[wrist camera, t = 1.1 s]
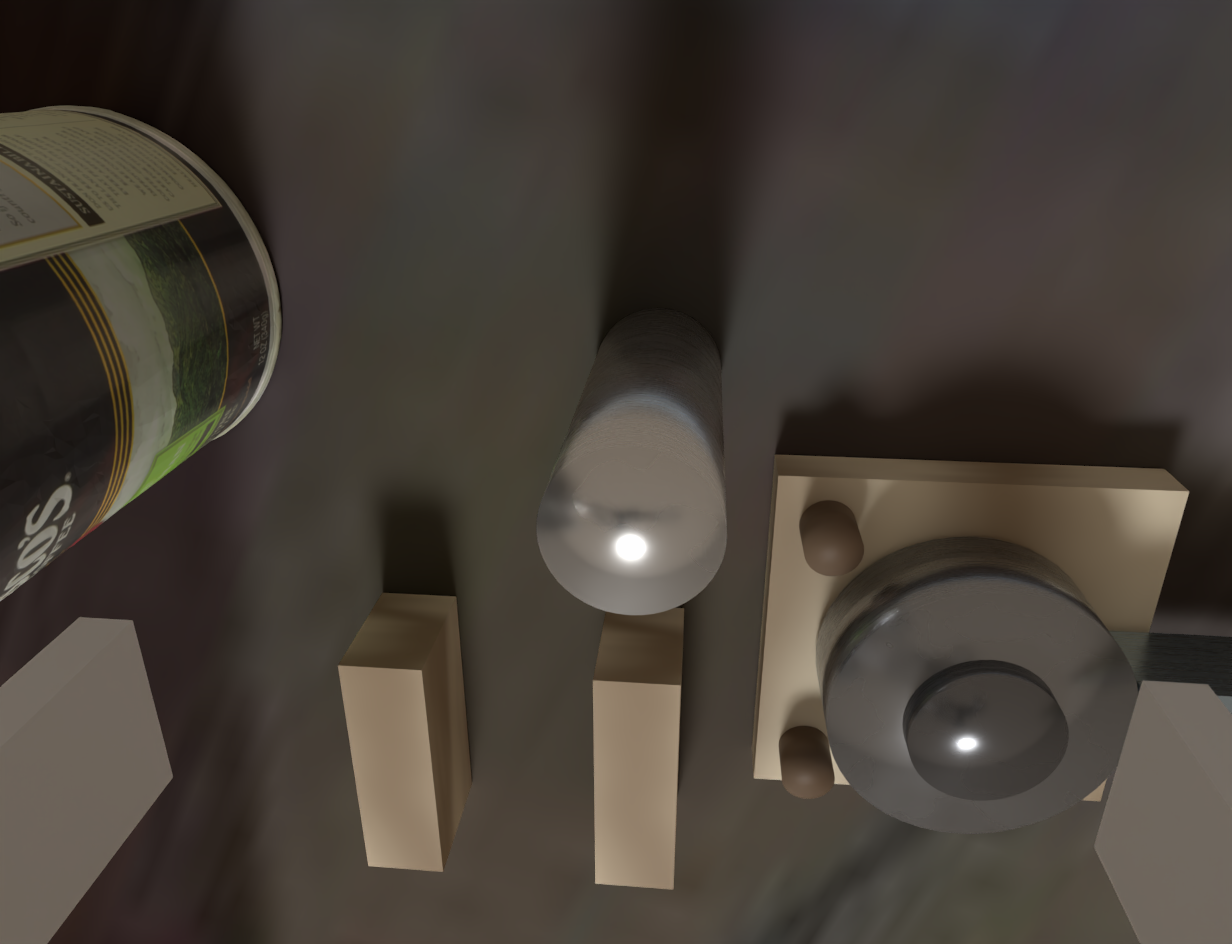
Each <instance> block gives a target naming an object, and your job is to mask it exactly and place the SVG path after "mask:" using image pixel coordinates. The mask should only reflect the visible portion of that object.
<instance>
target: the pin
mask: <svg viewBox="0 0 1232 944" xmlns="http://www.w3.org/2000/svg"><path fill="white" fill-rule="evenodd" d="M536 531H537V539H538V544H539V548H540V552H541V554H542V557H543V559H544V562H545V563H546V565H547V567H548V569H549V570H550V572H551V573H552V575H553V576H554V577H555V578H556V580H557V581H558V582H559V583H560V584H561V585H562V586H563V587H564V588H565V589H566V590H567V591H569V592H570V593H571V594H572V595H574V596H575V597H577V598H578V599H580V600H581V601H583V602H585V603H587V604H589V605H591V606H593V607H595V608H598V609H601V610H604V611H607V612H612V613H616V614H623V615H648V614H655V613H660V612H664V611H667V610H670V609H673V608H676V607H678V606H680V605H682V604H684V603H686V602H687V601H689V600H690V599H692V598H693V597H695V596H696V595H697V594H699V593H700V592H701V591H702V590H703V589H704V588H705V587H706V586H707V585H708V584H709V582H710V581H711V580H712V579H713V577H714V576H715V574H716V572H717V571H718V569H719V567H720V565H721V562H722V560H723V557H724V553H725V550H726V542H727V521H726V492H725V464H724V436H723V407H722V379H721V361H720V355H719V352H718V349H717V346H716V344H715V342H714V340H713V339H712V337H711V335H710V334H709V333H708V332H707V330H706V329H705V328H704V327H703V326H702V325H701V324H700V323H699V322H697V321H696V320H694V319H693V318H691V317H689V316H687V315H686V314H683V313H681V312H678V311H675V310H670V309H662V308H654V309H646V310H641V311H638V312H635V313H633V314H630V315H628V316H626V317H625V318H623V319H622V320H620V321H619V322H618V323H617V324H615V325H614V326H613V327H612V328H611V330H610V331H609V332H608V333H607V335H606V336H605V338H604V339H603V341H602V343H601V345H600V348H599V351H598V353H597V356H596V358H595V361H594V364H593V366H592V369H591V372H590V374H589V377H588V379H587V382H586V385H585V387H584V390H583V393H582V395H581V398H580V400H579V403H578V406H577V408H576V411H575V414H574V416H573V419H572V422H571V424H570V427H569V429H568V432H567V435H566V437H565V440H564V443H563V445H562V448H561V450H560V453H559V456H558V458H557V461H556V464H555V466H554V469H553V471H552V474H551V477H550V479H549V482H548V485H547V487H546V490H545V492H544V495H543V498H542V501H541V504H540V506H539V510H538V516H537V529H536Z"/></svg>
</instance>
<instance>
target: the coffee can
mask: <svg viewBox="0 0 1232 944" xmlns="http://www.w3.org/2000/svg"><path fill="white" fill-rule="evenodd" d="M281 329H282V318H281V305H280V295H279V290H278V285H277V281H276V277H275V273H274V270H273V266H272V263H271V260H270V257H269V254H268V252H267V249H266V247H265V245H264V243H263V240H262V238H261V236H260V234H259V232H258V230H257V228H256V226H255V225H254V223H253V221H252V219H251V218H250V216H249V214H248V213H247V211H246V210H245V208H244V207H243V205H242V204H241V202H240V201H239V199H238V198H237V197H236V195H235V194H234V193H233V191H232V190H231V189H230V188H229V186H228V185H227V184H226V183H225V182H224V181H223V180H222V179H221V178H220V177H219V176H218V175H217V174H216V173H215V172H214V171H213V170H212V169H211V168H210V167H209V166H208V165H207V164H206V163H205V162H204V161H203V160H202V159H200V158H199V157H198V156H197V155H196V154H194V153H193V152H192V151H190V150H189V149H188V148H186V147H185V146H184V145H182V144H181V143H179V142H178V141H177V140H175V139H173V138H172V137H170V136H169V135H167V134H165V133H163V132H162V131H160V130H158V129H156V128H154V127H152V126H150V125H148V124H146V123H143V122H141V121H139V120H136V119H134V118H131V117H128V116H126V115H123V114H120V113H117V112H114V111H111V110H107V109H101V108H96V107H85V106H70V105H65V106H49V107H43V108H38V109H32V110H29V111H25V112H14V113H0V601H1V600H2V599H4V598H5V597H6V596H8V595H9V594H11V593H12V592H14V591H15V590H16V589H17V588H18V587H20V586H21V585H22V584H23V583H24V582H26V581H27V580H28V579H30V578H31V577H32V576H34V575H35V574H36V573H37V572H39V571H40V570H41V569H43V568H44V567H45V566H47V565H48V564H49V563H51V562H52V561H53V560H54V559H56V558H57V557H58V556H60V555H61V554H62V553H63V552H64V551H66V550H67V549H68V548H70V547H71V546H73V545H74V544H76V543H77V542H78V541H79V540H81V539H82V538H84V537H85V536H86V535H87V534H89V533H90V532H91V531H93V530H94V529H95V528H97V527H98V526H99V525H100V524H102V523H103V522H104V521H105V520H107V519H108V518H109V517H111V516H112V515H113V514H114V513H116V512H117V511H118V510H120V509H121V508H122V507H124V506H125V505H126V504H128V503H129V502H130V501H132V500H133V499H134V498H136V497H137V496H138V495H140V494H141V493H143V492H144V491H145V490H147V489H148V488H149V487H151V486H152V485H153V484H154V483H156V482H157V481H158V480H160V479H161V478H162V477H164V476H165V475H166V474H167V473H169V472H170V471H171V470H173V469H174V468H175V467H177V466H178V465H179V464H181V463H182V462H184V461H185V460H186V459H187V458H189V457H190V456H191V455H193V454H194V453H195V452H197V451H198V450H199V449H201V448H202V447H203V446H205V445H206V444H207V443H209V442H210V441H211V440H214V439H216V438H218V437H220V436H222V435H224V434H225V433H227V432H228V431H229V430H230V429H231V428H233V427H234V426H236V425H237V424H238V423H239V422H240V421H241V420H242V419H243V418H244V417H246V415H247V414H248V413H249V412H250V411H251V410H252V408H253V407H254V406H255V405H256V403H257V402H258V401H259V399H260V397H261V396H262V394H263V392H264V390H265V388H266V386H267V385H268V383H269V380H270V377H271V375H272V372H273V370H274V367H275V364H276V360H277V356H278V352H279V347H280V339H281Z"/></svg>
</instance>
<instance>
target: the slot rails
mask: <svg viewBox="0 0 1232 944" xmlns="http://www.w3.org/2000/svg"><path fill="white" fill-rule="evenodd" d="M683 630H684V608H673V609H670V610H667V611H664V612H660V613H655V614H648V615H623V614H616V613H612V612H607V611H606V614H605V619H604V624H603V630H602V635H601V640H600V646H599V651H598V656H597V662H596V667H595V672H594V678H593V722H594V803H595V884H608V885H621V886H634V887H647V888H660V889H673V886H674V863H675V840H676V817H677V793H678V766H679V739H680V712H681V685H682V657H683ZM338 669H339V675H340V682H341V688H342V695H343V702H344V708H345V715H346V721H347V728H348V734H349V741H350V748H351V754H352V761H353V767H354V774H355V780H356V787H357V794H358V800H359V807H360V813H361V820H362V827H363V833H364V840H365V846H366V853H367V859H368V866H375V867H388V868H401V869H414V870H427V871H440V872H443V871H444V867H445V864H446V861H447V858H448V855H449V852H450V849H451V846H452V843H453V840H454V837H455V834H456V831H457V828H458V825H459V822H460V819H461V816H462V812H463V809H464V806H465V803H466V800H467V797H468V794H469V791H470V788H471V785H472V777H471V766H470V754H469V742H468V730H467V718H466V706H465V694H464V682H463V670H462V658H461V646H460V635H459V623H458V611H457V599H456V596H436V595H416V594H397V593H382V594H381V596H380V598H379V599H378V601H377V602H376V604H375V606H374V607H373V609H372V611H371V612H370V614H369V616H368V617H367V619H366V620H365V622H364V624H363V625H362V627H361V629H360V630H359V632H358V634H357V635H356V637H355V638H354V640H353V642H352V643H351V645H350V647H349V648H348V650H347V652H346V653H345V655H344V656H343V658H342V660H341V661H340V663H339V665H338Z"/></svg>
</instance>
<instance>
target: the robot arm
mask: <svg viewBox="0 0 1232 944" xmlns="http://www.w3.org/2000/svg"><path fill="white" fill-rule="evenodd" d="M172 778H173V775H172V771H171V767H170V763H169V759H168V756H167V752H166V748H165V744H164V740H163V736H162V732H161V729H160V725H159V721H158V717H157V713H156V709H155V705H154V701H153V698H152V694H151V690H150V686H149V682H148V678H147V674H146V671H145V667H144V663H143V659H142V655H141V651H140V647H139V643H138V640H137V636H136V632H135V628H134V624H133V620H117V619H100V618H83V617H79V618H78V619H77V620H76V621H75V622H74V623H73V624H71V625H70V626H69V627H68V628H67V629H66V630H65V631H63V632H62V633H61V634H60V635H59V636H58V637H57V638H55V639H54V640H53V641H52V642H51V643H50V644H49V645H47V646H46V647H45V648H44V649H43V650H42V651H41V652H40V653H38V654H37V655H36V656H35V657H34V658H33V659H32V660H30V661H29V662H28V663H27V664H26V665H25V666H24V667H22V668H21V669H20V670H19V671H18V672H17V673H16V674H14V675H13V676H12V677H11V678H10V679H9V680H8V681H7V682H5V683H4V684H3V685H2V686H1V687H0V944H47V943H48V942H49V941H50V939H51V938H52V937H53V935H54V934H55V933H56V931H57V930H58V929H59V927H60V926H61V925H62V923H63V922H64V921H65V919H66V918H67V917H68V915H69V914H70V913H71V911H72V910H73V909H74V907H75V906H76V905H77V903H78V902H79V901H80V899H81V898H82V897H83V896H84V894H85V893H86V892H87V890H88V889H89V888H90V886H91V885H92V884H93V882H94V881H95V880H96V878H97V877H98V876H99V874H100V873H101V872H102V870H103V869H104V868H105V866H106V865H107V864H108V862H109V861H110V860H111V858H112V857H113V856H114V854H115V853H116V852H117V850H118V849H119V848H120V847H121V845H122V844H123V843H124V841H125V840H126V839H127V837H128V836H129V835H130V833H131V832H132V831H133V829H134V828H135V827H136V825H137V824H138V823H139V821H140V820H141V819H142V817H143V816H144V815H145V813H146V812H147V811H148V809H149V808H150V807H151V805H152V804H153V803H154V802H155V800H156V799H157V798H158V796H159V795H160V794H161V792H162V791H163V790H164V788H165V787H166V786H167V784H168V783H169V782H170V780H171V779H172ZM1094 848H1095V850H1096V852H1097V854H1098V856H1099V858H1100V860H1101V862H1102V864H1103V867H1104V869H1105V871H1106V873H1107V875H1108V877H1109V879H1110V881H1111V883H1112V885H1113V887H1114V890H1115V892H1116V894H1117V896H1118V898H1119V900H1120V902H1121V904H1122V906H1123V908H1124V911H1125V913H1126V915H1127V917H1128V919H1129V921H1130V923H1131V925H1132V927H1133V929H1134V931H1135V934H1136V936H1137V938H1138V940H1139V942H1140V944H1232V714H1231V713H1230V712H1229V711H1228V709H1227V708H1226V707H1225V705H1224V704H1223V703H1222V702H1221V700H1220V699H1219V698H1218V697H1217V695H1216V694H1215V693H1214V691H1213V690H1212V689H1211V688H1210V686H1209V685H1208V684H1193V683H1176V682H1159V681H1143V680H1142V684H1141V687H1140V690H1139V694H1138V697H1137V701H1136V704H1135V708H1134V711H1133V714H1132V718H1131V721H1130V725H1129V728H1128V732H1127V735H1126V738H1125V742H1124V745H1123V749H1122V752H1121V756H1120V759H1119V762H1118V766H1117V769H1116V773H1115V776H1114V780H1113V783H1112V786H1111V790H1110V793H1109V797H1108V800H1107V804H1106V807H1105V810H1104V814H1103V817H1102V821H1101V824H1100V827H1099V831H1098V834H1097V838H1096V841H1095V845H1094Z"/></svg>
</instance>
